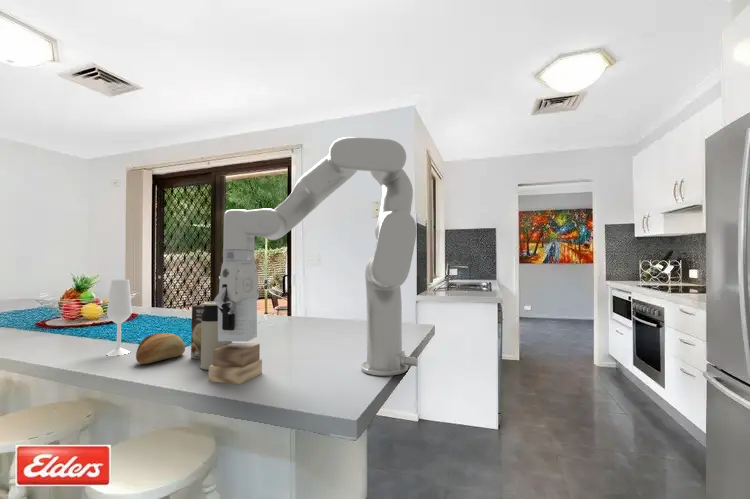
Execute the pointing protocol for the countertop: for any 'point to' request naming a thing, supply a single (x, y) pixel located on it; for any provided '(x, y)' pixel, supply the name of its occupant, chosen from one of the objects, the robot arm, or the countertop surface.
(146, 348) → the bread roll
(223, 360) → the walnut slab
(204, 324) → the travel mug
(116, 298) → the champagne flute
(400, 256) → the robot arm
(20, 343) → the countertop surface
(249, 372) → the oak slab
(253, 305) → the small box
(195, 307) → the coffee box
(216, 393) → the countertop surface
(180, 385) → the countertop surface
